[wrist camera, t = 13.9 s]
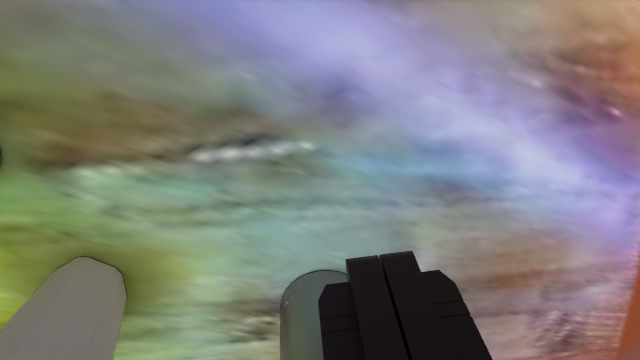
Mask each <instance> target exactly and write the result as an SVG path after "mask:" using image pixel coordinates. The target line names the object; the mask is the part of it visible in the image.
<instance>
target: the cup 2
mask: <svg viewBox="0 0 640 360" xmlns="http://www.w3.org/2000/svg"><path fill="white" fill-rule="evenodd" d="M126 298H127V296H126V292H125V287H124V282H123V277H122V274H121V273H120V272H119V271H118V270H117V269H116V268H115V267H112V266H110V265H107V264H104V263H102V262H99V261H97V260H94V259H91V258H89V257H77V258H76V259H74V260H72V261H70V262H69V263H67V264H65V265H64V266H62V267H60V268H58V269H57V270H55V271H54V272H53V273H52V274H51V275H50V276H49V278H48V279H47V280H46V281H45V282H44V283H43V284H42V285H41V286H40V287H39V288H38V290H37V291H36V292H35V293H34V294H33V295H32V296H31V297H30V298H29V299H28V300H27V301H26V303H25V304H24V305H23V306H22V307H21V308H20V309H19V310H18V311H17V312H16V313H15V315H14V316H13V317H12V318H11V319H10V320H9V321H8V322H7V323H6V324H5V325H4V326H3V328H2V329H1V330H0V360H113V357H114V352H115V348H116V343H117V339H118V334H119V330H120V325H121V321H122V316H123V312H124V307H125V303H126Z"/></svg>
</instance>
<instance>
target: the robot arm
mask: <svg viewBox="0 0 640 360" xmlns="http://www.w3.org/2000/svg"><path fill="white" fill-rule="evenodd" d="M346 270H347V275H345V274H343V273H339V272H335V271H317V272H313V273H309V274H306V275H304V276H302V277H300V278H298V279H297V280H296V281H294V282H293V283H292V284H291V285H290V286H289V287H288V288H287V289H286V291H285V293H284V295H283V297H282V300H281V304H280V360H492V357H491V355H490V353H489V351H488V349H487V347H486V345H485V343H484V341H483V339H482V337H481V335H480V333H479V331H478V329H477V327H476V325H475V323H474V321H473V319H472V317H470V312H469V310H468V308H467V306H466V304H465V303H464V302H463V298H462V296H461V294H460V292H459V290H458V288H457V286H456V284H455V283H454V282H453V281H452V280H451V279H449V278H448V277H447V276H446V275H445V274H443V273H442V272H441V271H440V270H434V271H427V272H421V271H420V268H419V266H418V263H417V261H416V259H415V256H414V254H413V252H412V251H405V252H398V253H390V254H382V255H379V258H378V256H377V255H375V256H367V257H359V258H352V259H346Z"/></svg>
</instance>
